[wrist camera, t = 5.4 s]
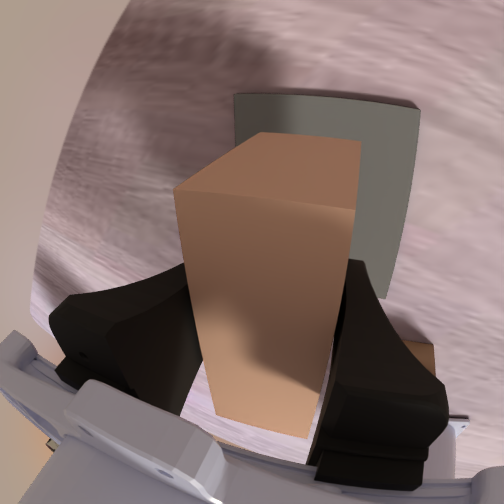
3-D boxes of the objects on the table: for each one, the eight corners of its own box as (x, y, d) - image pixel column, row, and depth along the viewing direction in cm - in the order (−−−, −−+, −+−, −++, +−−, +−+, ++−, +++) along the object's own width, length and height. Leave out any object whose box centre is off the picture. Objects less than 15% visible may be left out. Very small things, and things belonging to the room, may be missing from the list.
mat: (385, 294, 20) (385, 299, 20) (243, 269, 23) (241, 273, 22) (419, 109, 14) (420, 110, 13) (237, 93, 17) (233, 94, 16)
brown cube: (416, 375, 23) (415, 414, 20) (371, 368, 24) (366, 407, 21) (433, 343, 21) (436, 385, 18) (384, 336, 22) (381, 378, 19)
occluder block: (333, 331, 16) (306, 439, 11) (262, 317, 18) (216, 415, 12) (361, 141, 11) (355, 210, 6) (260, 132, 12) (173, 189, 7)
